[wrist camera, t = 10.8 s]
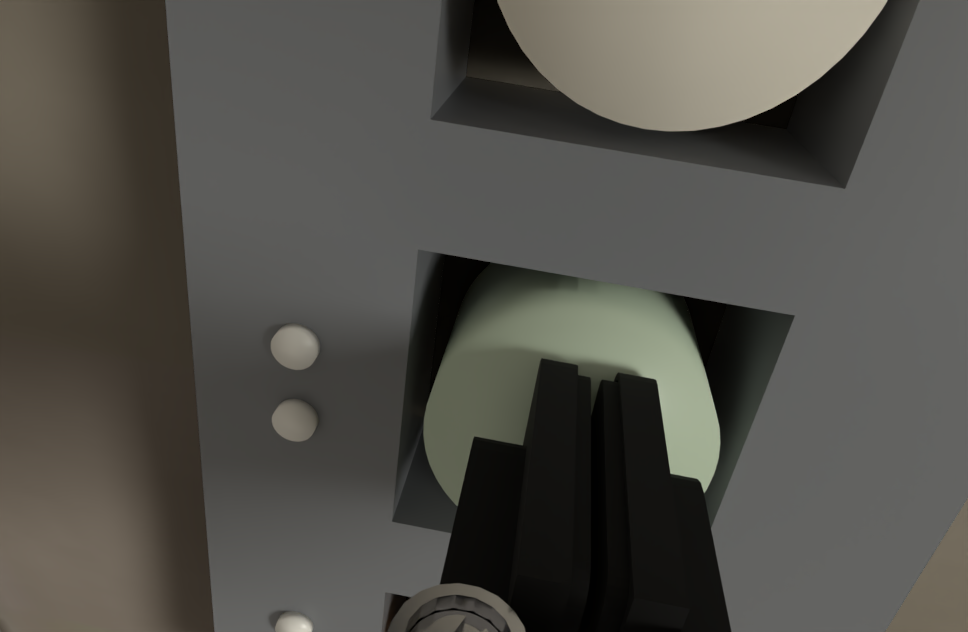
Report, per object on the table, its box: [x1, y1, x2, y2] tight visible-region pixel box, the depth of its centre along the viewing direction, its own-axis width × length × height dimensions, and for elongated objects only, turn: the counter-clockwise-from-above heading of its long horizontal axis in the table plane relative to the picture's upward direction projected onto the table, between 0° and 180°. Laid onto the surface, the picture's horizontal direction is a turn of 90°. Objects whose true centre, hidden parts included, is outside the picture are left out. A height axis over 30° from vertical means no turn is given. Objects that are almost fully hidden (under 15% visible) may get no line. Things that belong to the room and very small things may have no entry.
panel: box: [165, 0, 968, 632], centre depth 12 cm, size 22×12×3 cm, turn 172°
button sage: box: [423, 262, 720, 506], centre depth 12 cm, size 4×4×3 cm
